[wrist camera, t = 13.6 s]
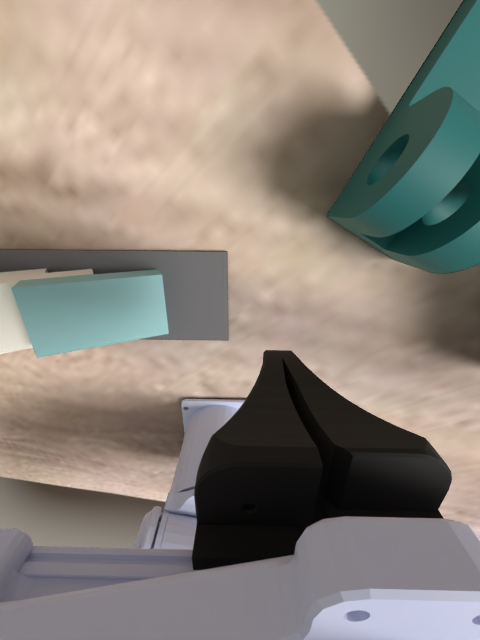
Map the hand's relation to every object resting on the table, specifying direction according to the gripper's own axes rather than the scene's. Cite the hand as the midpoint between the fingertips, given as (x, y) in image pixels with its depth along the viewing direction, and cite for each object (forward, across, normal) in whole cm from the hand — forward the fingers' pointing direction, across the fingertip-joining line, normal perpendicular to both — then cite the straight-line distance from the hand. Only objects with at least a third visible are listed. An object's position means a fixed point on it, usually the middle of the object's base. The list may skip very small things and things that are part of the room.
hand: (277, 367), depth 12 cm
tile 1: (+9, +8, 0) cm, 12 cm away
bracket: (+11, -12, -13) cm, 21 cm away
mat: (+10, +15, 0) cm, 18 cm away
